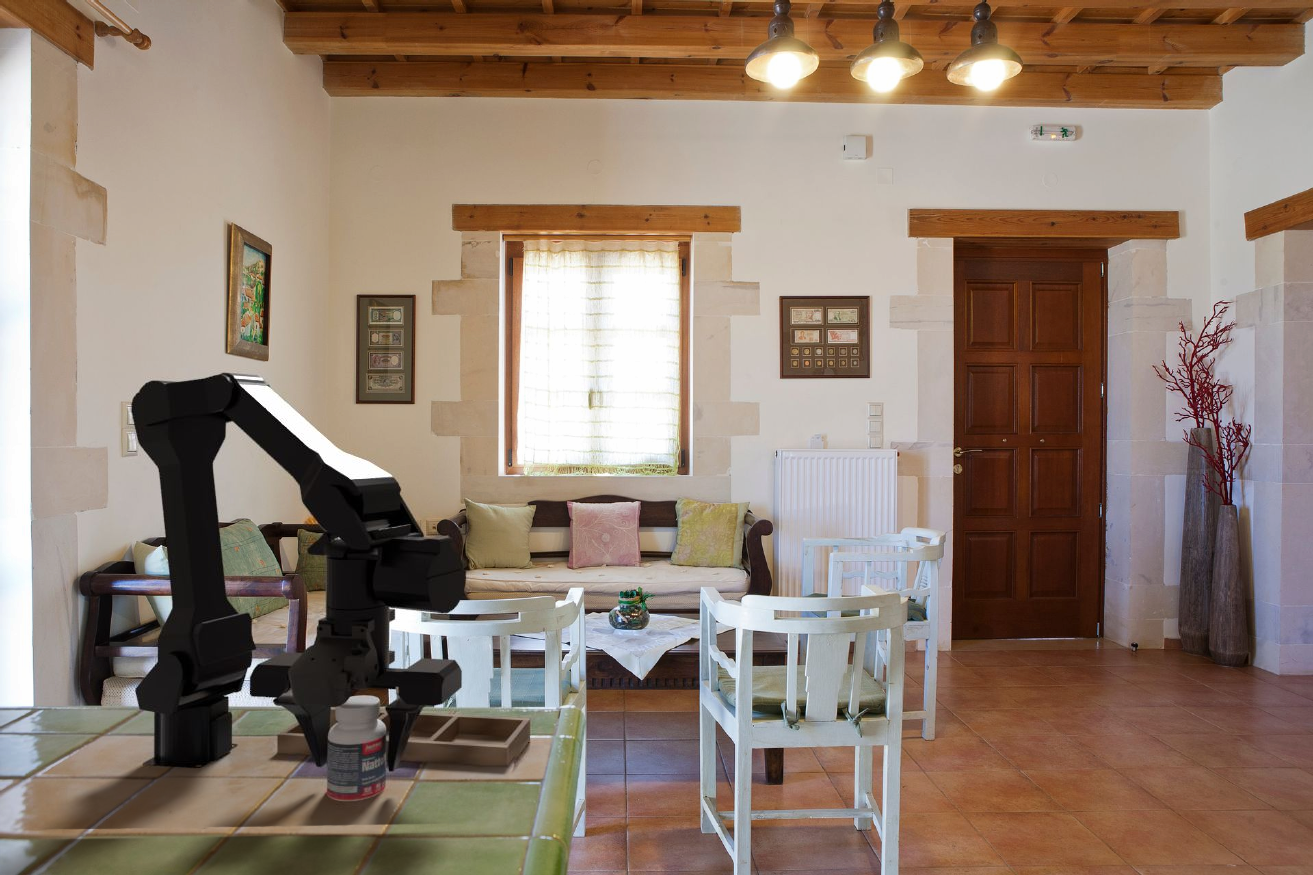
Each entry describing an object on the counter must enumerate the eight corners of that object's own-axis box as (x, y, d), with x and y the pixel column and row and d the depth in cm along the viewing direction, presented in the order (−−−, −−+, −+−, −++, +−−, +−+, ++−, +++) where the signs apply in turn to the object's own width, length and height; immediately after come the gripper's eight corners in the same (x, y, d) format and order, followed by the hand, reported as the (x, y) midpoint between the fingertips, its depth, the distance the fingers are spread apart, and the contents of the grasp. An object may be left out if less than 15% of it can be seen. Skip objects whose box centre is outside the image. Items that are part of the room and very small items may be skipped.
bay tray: (277, 757, 88) (277, 734, 88) (320, 729, 97) (320, 707, 97) (506, 771, 85) (507, 747, 85) (530, 740, 94) (530, 718, 94)
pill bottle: (366, 809, 76) (367, 712, 76) (315, 804, 78) (316, 708, 77) (396, 785, 82) (396, 695, 82) (347, 781, 83) (348, 691, 83)
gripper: (211, 618, 73) (210, 798, 73) (417, 627, 70) (416, 812, 70) (284, 594, 84) (283, 750, 84) (464, 600, 81) (463, 761, 81)
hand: (357, 767), depth 80 cm, fingers open, 7 cm apart
